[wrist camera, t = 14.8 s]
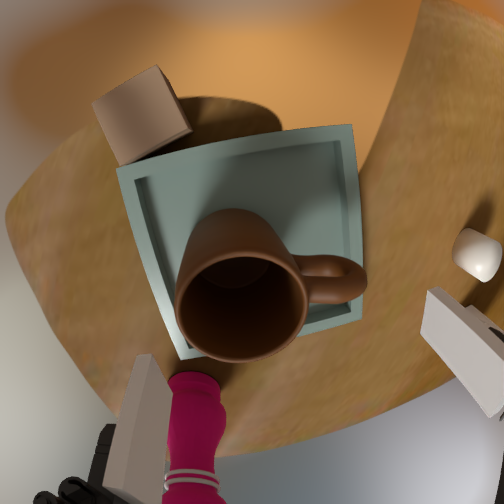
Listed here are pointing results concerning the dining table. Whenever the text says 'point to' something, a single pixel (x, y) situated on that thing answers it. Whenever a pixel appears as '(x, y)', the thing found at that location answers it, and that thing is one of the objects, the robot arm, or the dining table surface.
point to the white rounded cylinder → (477, 254)
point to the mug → (252, 287)
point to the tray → (249, 206)
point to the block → (141, 116)
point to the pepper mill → (194, 439)
